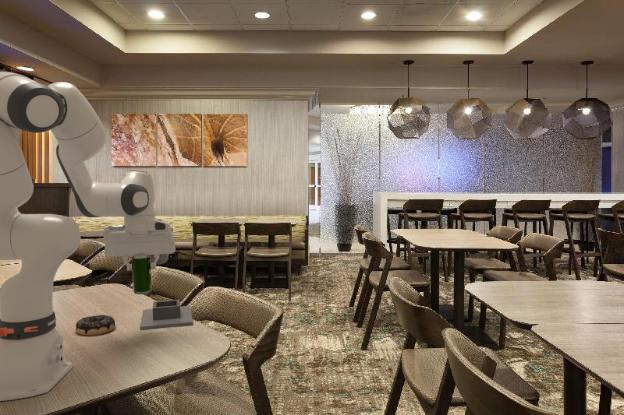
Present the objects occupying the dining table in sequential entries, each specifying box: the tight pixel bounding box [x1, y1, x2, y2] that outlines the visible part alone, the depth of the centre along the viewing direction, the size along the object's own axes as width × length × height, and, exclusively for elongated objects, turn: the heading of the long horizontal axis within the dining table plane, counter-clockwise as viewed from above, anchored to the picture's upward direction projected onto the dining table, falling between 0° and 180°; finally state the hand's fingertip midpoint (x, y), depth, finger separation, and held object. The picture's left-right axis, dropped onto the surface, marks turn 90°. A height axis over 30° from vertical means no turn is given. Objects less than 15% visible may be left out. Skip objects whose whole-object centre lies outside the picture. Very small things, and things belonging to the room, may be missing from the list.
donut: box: [75, 314, 116, 336], centre depth 150 cm, size 11×12×4 cm
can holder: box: [139, 299, 194, 331], centre depth 162 cm, size 20×16×5 cm
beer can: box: [131, 254, 153, 295], centre depth 147 cm, size 5×5×12 cm
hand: (141, 269), depth 147 cm, fingers closed on beer can, 5 cm apart
